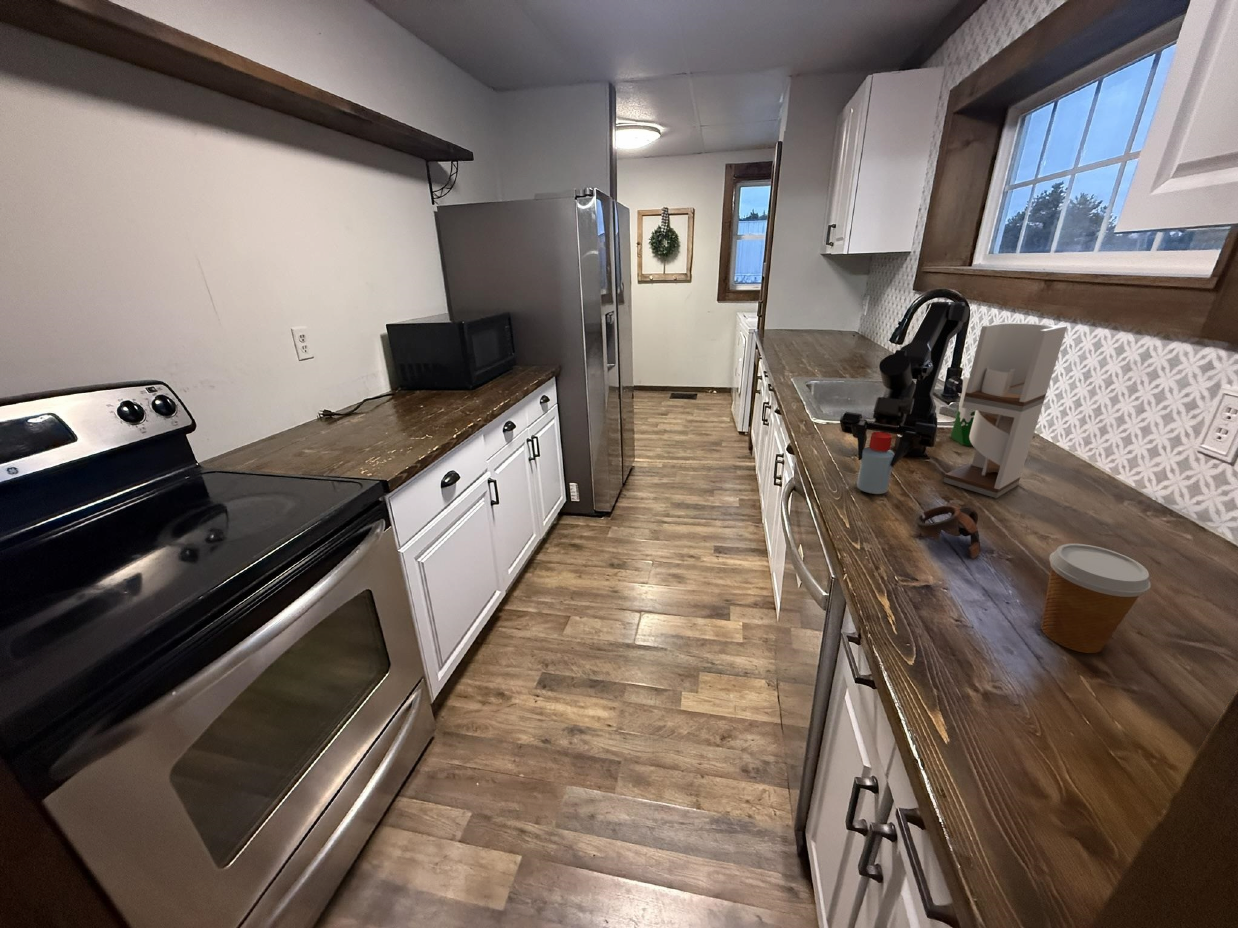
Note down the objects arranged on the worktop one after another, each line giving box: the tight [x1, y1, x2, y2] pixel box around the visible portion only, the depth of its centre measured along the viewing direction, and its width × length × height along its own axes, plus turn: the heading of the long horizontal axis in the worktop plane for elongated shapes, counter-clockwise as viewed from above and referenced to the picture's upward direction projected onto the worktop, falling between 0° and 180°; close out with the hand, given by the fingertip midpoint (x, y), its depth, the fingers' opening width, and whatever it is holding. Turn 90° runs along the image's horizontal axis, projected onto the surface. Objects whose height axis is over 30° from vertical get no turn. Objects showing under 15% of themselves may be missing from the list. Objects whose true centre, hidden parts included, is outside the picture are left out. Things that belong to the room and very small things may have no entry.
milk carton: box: [949, 375, 976, 447], centre depth 135 cm, size 9×9×20 cm
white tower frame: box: [942, 321, 1068, 499], centre depth 106 cm, size 11×11×35 cm
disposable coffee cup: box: [1040, 543, 1152, 654], centre depth 64 cm, size 10×10×12 cm
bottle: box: [856, 446, 895, 495], centre depth 108 cm, size 6×6×12 cm
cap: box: [868, 431, 893, 451], centre depth 106 cm, size 4×4×3 cm
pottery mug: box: [915, 504, 982, 559], centre depth 89 cm, size 12×10×8 cm
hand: (875, 462), depth 107 cm, fingers closed on bottle, 6 cm apart
